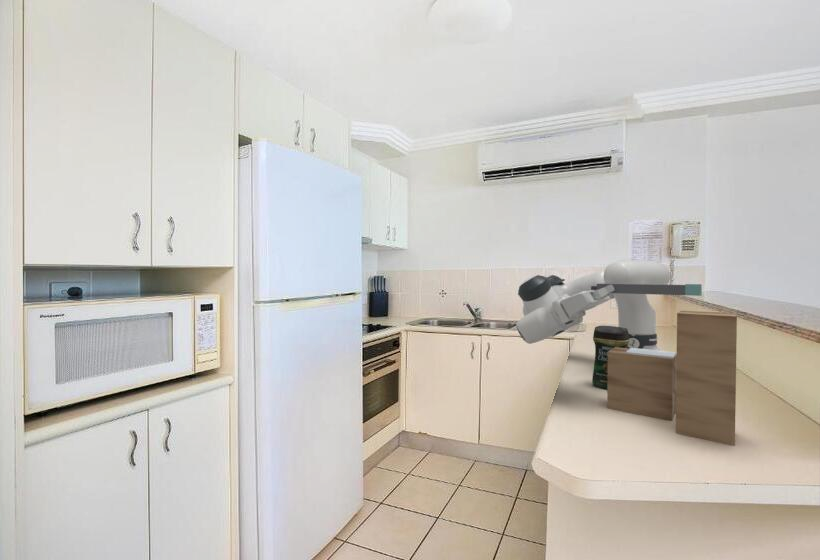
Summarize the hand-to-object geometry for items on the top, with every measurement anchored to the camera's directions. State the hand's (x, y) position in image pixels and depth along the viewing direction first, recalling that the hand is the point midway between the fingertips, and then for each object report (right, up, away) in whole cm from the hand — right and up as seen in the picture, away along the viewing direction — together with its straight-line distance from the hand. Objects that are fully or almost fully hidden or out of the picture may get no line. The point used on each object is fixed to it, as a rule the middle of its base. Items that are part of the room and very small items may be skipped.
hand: (615, 286), depth 105 cm
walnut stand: (+7, -31, -10) cm, 34 cm away
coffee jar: (+7, -31, +17) cm, 36 cm away
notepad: (+6, -17, -5) cm, 18 cm away
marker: (+5, -2, -4) cm, 7 cm away
